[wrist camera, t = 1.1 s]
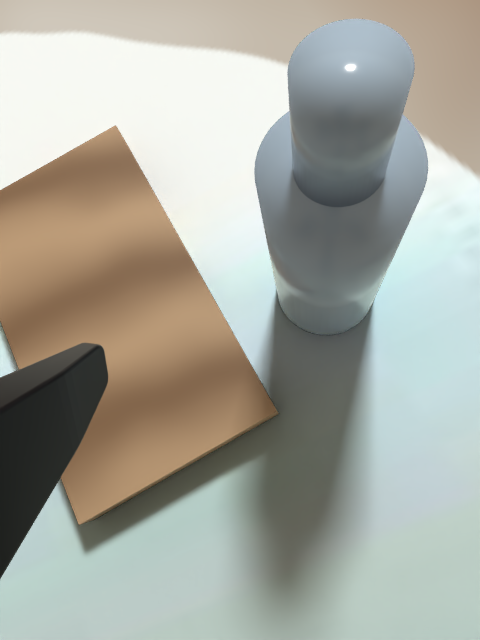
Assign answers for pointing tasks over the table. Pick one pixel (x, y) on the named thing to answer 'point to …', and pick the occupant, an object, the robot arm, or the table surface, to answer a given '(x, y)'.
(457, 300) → the table surface
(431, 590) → the table surface
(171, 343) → the walnut board
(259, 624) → the table surface
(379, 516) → the table surface
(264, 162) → the slate-blue bottle
